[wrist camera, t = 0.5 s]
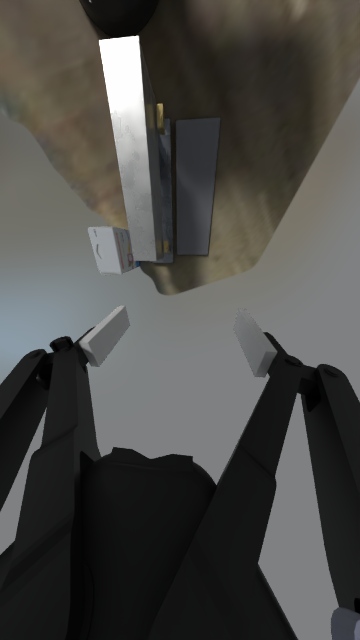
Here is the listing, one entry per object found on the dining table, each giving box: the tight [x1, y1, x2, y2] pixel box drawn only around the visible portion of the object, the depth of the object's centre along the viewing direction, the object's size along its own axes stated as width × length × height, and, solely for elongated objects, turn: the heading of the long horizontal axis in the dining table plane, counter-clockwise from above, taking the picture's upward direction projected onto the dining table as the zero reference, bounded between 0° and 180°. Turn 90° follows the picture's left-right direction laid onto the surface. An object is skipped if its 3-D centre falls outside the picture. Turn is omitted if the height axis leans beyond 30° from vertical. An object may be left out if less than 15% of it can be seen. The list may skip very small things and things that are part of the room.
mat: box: [176, 117, 221, 255], centre depth 30 cm, size 22×8×1 cm, turn 0°
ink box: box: [88, 227, 140, 275], centre depth 31 cm, size 8×5×12 cm, turn 0°
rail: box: [99, 36, 164, 261], centre depth 21 cm, size 20×4×7 cm, turn 0°
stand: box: [151, 104, 174, 263], centre depth 27 cm, size 24×6×10 cm, turn 0°
